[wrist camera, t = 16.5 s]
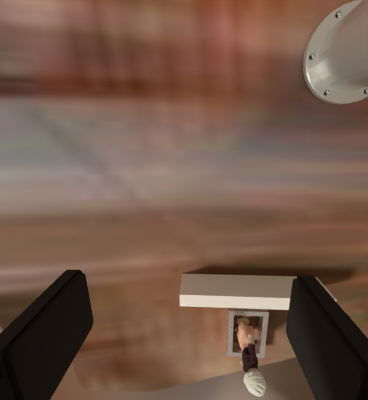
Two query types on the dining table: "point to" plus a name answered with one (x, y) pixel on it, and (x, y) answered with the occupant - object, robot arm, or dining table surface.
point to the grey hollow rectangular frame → (263, 314)
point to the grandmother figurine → (249, 358)
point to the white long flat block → (237, 291)
